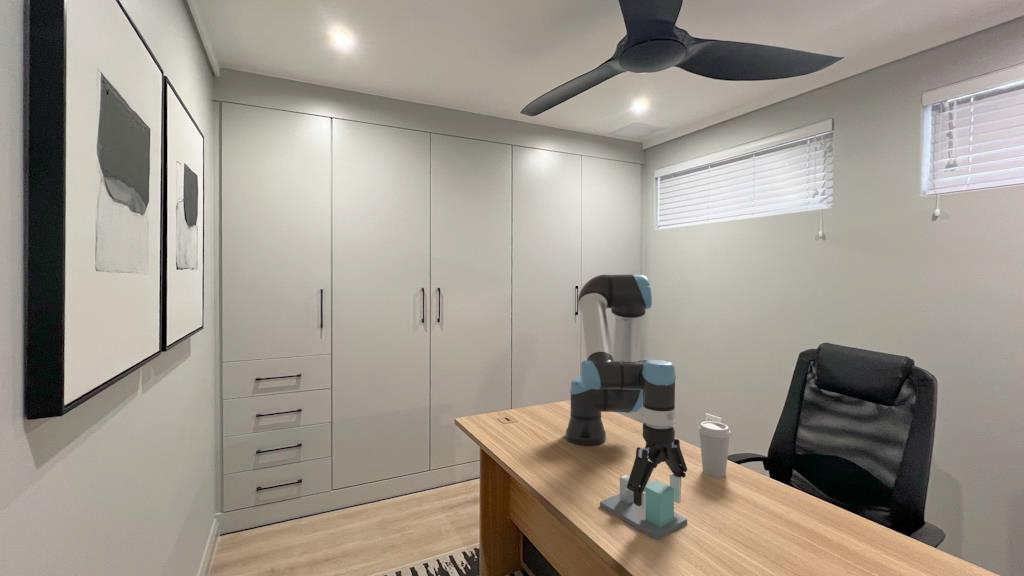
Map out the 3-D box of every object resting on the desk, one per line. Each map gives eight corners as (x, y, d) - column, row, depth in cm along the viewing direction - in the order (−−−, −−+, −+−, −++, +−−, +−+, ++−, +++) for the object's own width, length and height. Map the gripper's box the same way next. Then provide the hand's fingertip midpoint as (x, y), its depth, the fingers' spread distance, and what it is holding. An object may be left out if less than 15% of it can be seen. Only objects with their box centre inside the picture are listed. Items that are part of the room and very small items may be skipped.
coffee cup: (735, 481, 128) (735, 431, 127) (701, 478, 129) (701, 429, 129) (726, 467, 137) (726, 421, 137) (694, 465, 139) (694, 419, 139)
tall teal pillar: (642, 517, 106) (642, 485, 106) (656, 511, 109) (656, 480, 109) (660, 527, 102) (660, 494, 102) (673, 520, 105) (673, 488, 105)
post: (619, 500, 114) (619, 476, 114) (626, 498, 116) (626, 474, 115) (627, 505, 112) (627, 480, 112) (633, 502, 113) (633, 478, 113)
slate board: (599, 506, 114) (599, 501, 114) (630, 493, 120) (630, 489, 120) (656, 540, 99) (656, 535, 99) (687, 523, 105) (687, 518, 105)
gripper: (637, 439, 95) (636, 533, 95) (702, 418, 109) (701, 500, 109) (611, 429, 101) (611, 517, 102) (676, 411, 115) (675, 488, 115)
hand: (658, 509), depth 105 cm, fingers open, 13 cm apart
